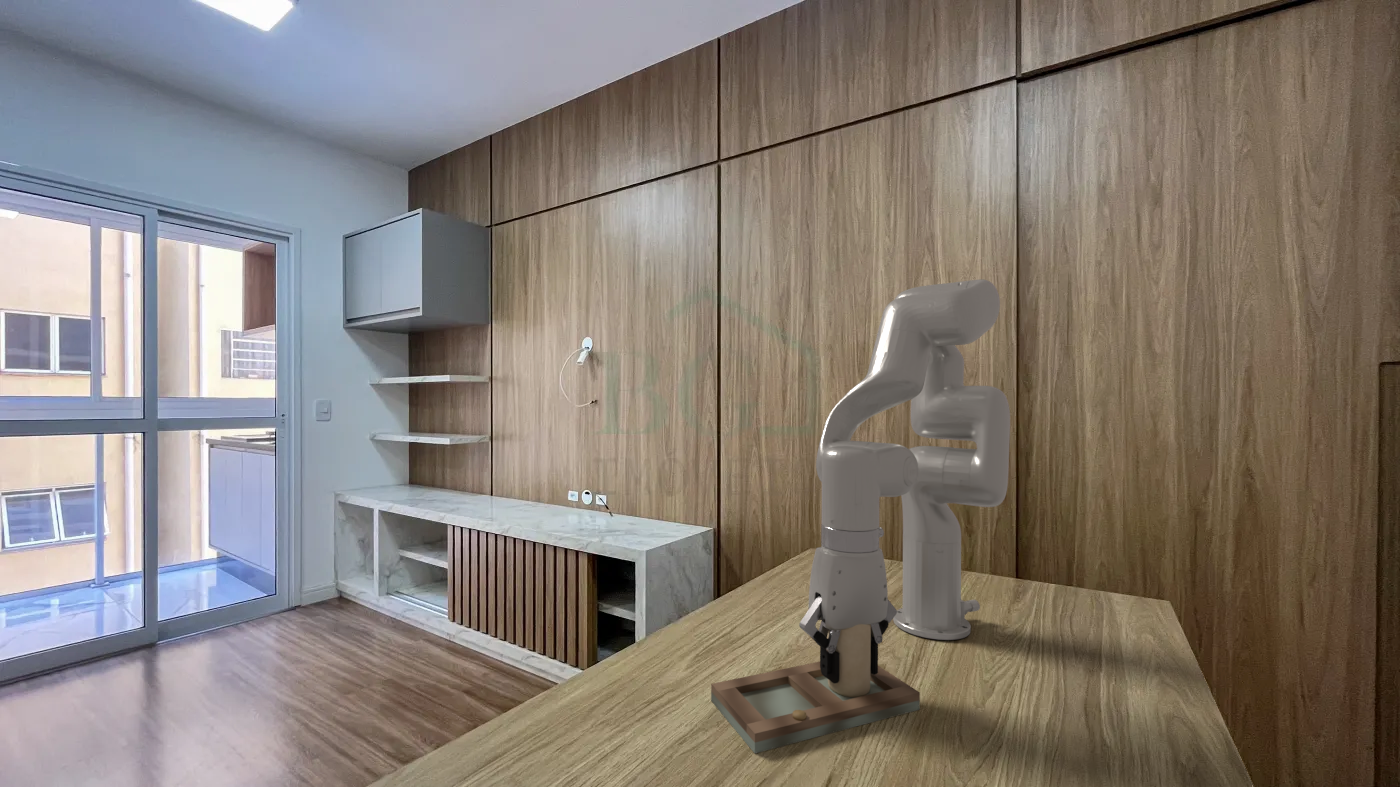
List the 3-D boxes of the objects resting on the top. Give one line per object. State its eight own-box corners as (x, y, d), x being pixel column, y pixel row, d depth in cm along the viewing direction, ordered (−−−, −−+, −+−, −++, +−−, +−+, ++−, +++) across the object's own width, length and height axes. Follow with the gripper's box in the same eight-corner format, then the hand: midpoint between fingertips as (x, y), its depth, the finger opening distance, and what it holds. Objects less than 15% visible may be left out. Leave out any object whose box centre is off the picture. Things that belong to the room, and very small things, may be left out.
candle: (871, 700, 73) (872, 622, 73) (827, 694, 74) (828, 618, 74) (868, 679, 78) (869, 606, 78) (827, 675, 79) (828, 603, 79)
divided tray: (859, 668, 84) (859, 650, 84) (919, 709, 73) (919, 689, 73) (711, 700, 75) (711, 680, 75) (754, 753, 64) (754, 730, 64)
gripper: (881, 527, 83) (881, 651, 83) (780, 538, 76) (779, 673, 76) (920, 539, 76) (919, 675, 76) (812, 552, 69) (811, 701, 69)
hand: (849, 672), depth 76 cm, fingers closed on candle, 5 cm apart
